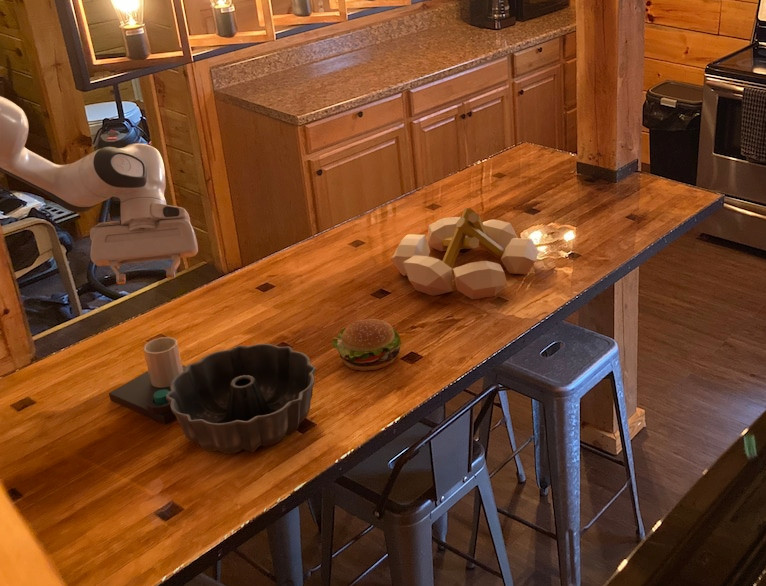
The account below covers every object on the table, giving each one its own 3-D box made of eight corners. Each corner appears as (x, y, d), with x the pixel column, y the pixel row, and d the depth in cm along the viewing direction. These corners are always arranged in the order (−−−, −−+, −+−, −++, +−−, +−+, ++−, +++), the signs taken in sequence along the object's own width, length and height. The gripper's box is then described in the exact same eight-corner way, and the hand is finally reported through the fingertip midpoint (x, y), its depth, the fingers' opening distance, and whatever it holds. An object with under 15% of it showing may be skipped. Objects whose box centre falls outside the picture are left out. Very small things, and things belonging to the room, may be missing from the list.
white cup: (143, 382, 191) (136, 348, 188) (169, 367, 196) (162, 334, 193) (164, 390, 189) (157, 356, 185) (190, 375, 194) (183, 342, 190)
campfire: (478, 316, 220) (475, 250, 213) (368, 280, 236) (361, 218, 229) (559, 257, 248) (558, 197, 241) (455, 229, 263) (452, 172, 256)
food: (332, 346, 208) (328, 314, 204) (397, 336, 212) (394, 305, 208) (336, 380, 196) (332, 347, 193) (405, 369, 200) (402, 337, 196)
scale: (108, 401, 188) (105, 387, 187) (169, 366, 200) (166, 352, 198) (163, 425, 181) (160, 410, 180) (223, 388, 193) (220, 373, 192)
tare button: (151, 401, 183) (150, 395, 183) (164, 394, 185) (162, 387, 185) (161, 406, 182) (160, 399, 181) (173, 398, 184) (172, 391, 184)
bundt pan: (347, 425, 182) (341, 381, 178) (212, 489, 165) (203, 443, 161) (281, 370, 199) (275, 328, 195) (153, 422, 182) (143, 379, 178)
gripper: (85, 217, 195) (86, 281, 190) (192, 207, 200) (195, 269, 196) (93, 228, 200) (94, 291, 196) (197, 218, 206) (201, 279, 201)
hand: (146, 280), depth 196 cm, fingers open, 8 cm apart
